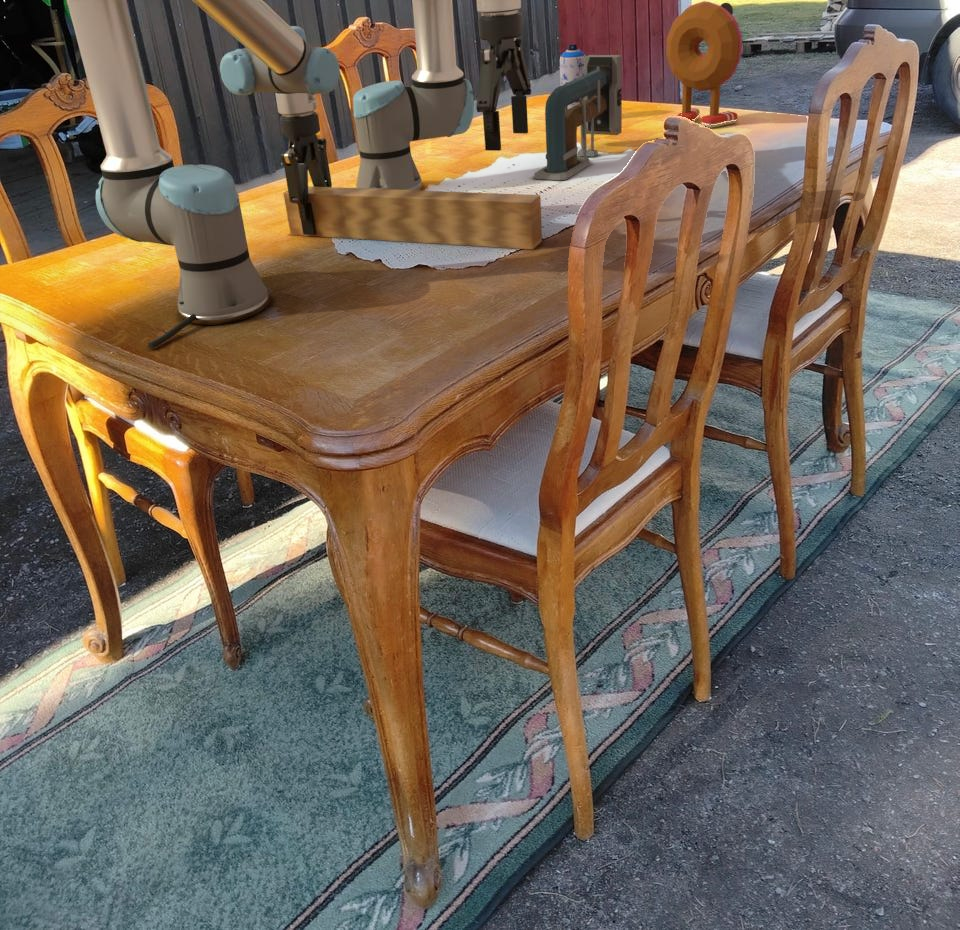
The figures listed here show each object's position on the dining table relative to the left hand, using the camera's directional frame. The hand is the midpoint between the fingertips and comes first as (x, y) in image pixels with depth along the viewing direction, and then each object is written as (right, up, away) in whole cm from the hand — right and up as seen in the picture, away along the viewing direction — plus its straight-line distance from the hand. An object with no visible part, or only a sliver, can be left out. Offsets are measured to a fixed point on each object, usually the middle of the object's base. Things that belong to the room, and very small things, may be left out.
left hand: (317, 229), depth 201 cm
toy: (+94, +43, +60) cm, 120 cm away
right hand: (+39, +10, -26) cm, 48 cm away
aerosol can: (+61, +50, +77) cm, 110 cm away
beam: (+20, -4, -8) cm, 22 cm away
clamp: (+58, +25, +35) cm, 72 cm away
